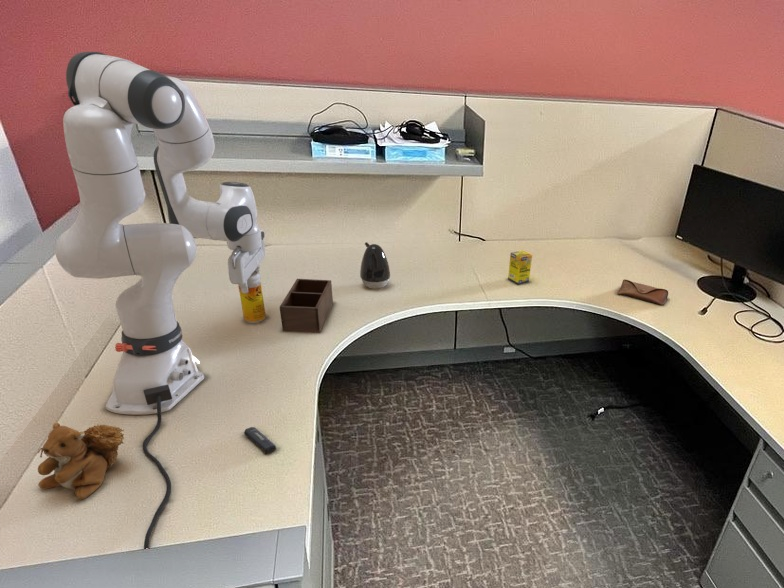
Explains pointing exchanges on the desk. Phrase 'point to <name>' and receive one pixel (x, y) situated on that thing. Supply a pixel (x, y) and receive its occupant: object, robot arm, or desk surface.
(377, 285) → the black egg-shaped figure
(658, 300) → the sunglasses case
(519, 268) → the supplement box
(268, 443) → the usb stick
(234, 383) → the desk surface
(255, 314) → the beer can
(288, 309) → the box
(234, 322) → the desk surface
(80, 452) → the stuffed squirrel
